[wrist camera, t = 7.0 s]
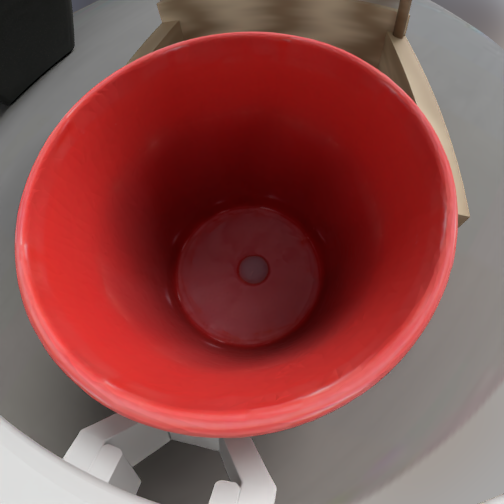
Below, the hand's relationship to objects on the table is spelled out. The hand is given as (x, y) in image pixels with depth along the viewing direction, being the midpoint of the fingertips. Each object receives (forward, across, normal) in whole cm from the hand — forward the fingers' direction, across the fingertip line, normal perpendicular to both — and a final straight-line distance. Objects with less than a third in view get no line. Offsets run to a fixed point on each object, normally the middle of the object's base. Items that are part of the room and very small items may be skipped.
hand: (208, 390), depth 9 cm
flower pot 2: (+7, 0, -1) cm, 7 cm away
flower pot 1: (+25, +38, -19) cm, 50 cm away
